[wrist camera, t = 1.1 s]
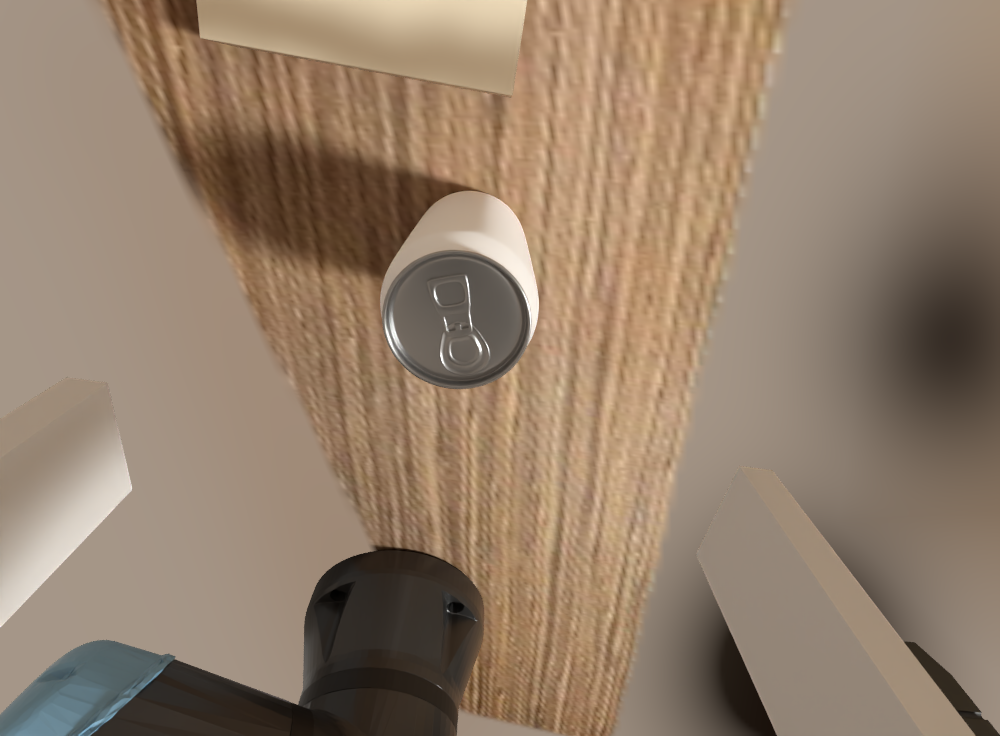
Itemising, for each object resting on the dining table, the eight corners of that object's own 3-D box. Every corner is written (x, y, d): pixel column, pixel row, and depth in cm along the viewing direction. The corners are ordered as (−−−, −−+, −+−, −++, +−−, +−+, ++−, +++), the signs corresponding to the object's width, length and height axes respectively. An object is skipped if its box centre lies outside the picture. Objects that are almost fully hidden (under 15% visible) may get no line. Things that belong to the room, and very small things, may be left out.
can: (431, 307, 31) (397, 410, 20) (403, 200, 28) (346, 256, 17) (533, 289, 30) (553, 385, 20) (516, 178, 27) (529, 222, 17)
